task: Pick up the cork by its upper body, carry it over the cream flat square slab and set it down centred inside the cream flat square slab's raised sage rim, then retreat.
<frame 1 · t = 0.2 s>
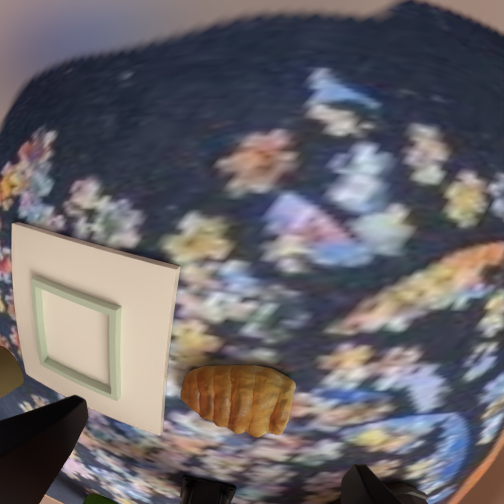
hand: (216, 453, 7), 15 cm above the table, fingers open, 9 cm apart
cream flat square slab: (81, 333, 24), on the table
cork: (10, 365, 26), on the table
pastry: (245, 390, 24), on the table
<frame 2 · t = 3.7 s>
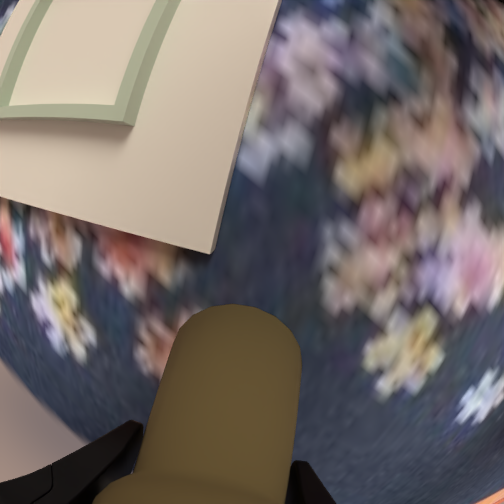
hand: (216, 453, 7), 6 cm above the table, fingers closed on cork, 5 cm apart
cream flat square slab: (93, 37, 10), on the table
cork: (236, 362, 13), on the table, touching gripper
when the fingers open (7 cm above the table, at t = 7.7 s): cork stays where it is, resting on cream flat square slab.
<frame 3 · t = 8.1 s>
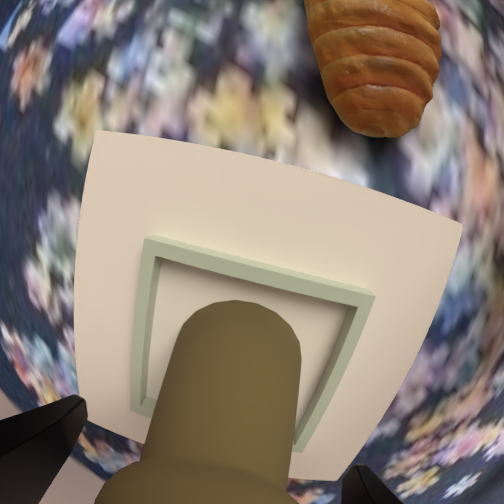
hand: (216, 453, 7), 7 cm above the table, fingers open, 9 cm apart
cream flat square slab: (238, 348, 14), on the table
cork: (237, 356, 13), point 1 cm above the table, touching cream flat square slab
pastry: (370, 46, 11), on the table
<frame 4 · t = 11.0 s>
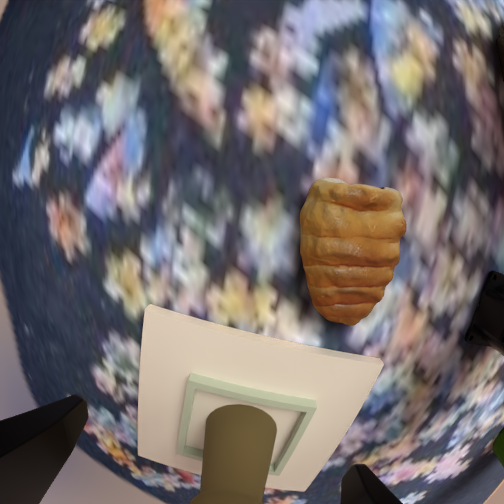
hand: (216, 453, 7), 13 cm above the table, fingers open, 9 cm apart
cream flat square slab: (241, 421, 22), on the table
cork: (241, 427, 22), point 1 cm above the table, touching cream flat square slab
pastry: (348, 240, 19), on the table
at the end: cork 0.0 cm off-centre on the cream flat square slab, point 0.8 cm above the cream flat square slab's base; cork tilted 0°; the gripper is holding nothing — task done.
